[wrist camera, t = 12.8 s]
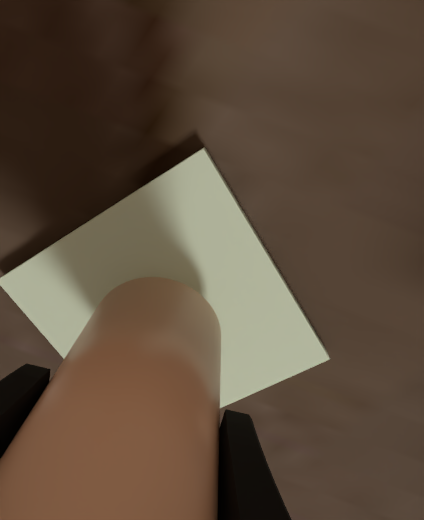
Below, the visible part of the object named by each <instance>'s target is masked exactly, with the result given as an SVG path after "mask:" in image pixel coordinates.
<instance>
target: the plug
mask: <svg viewBox="0 0 424 520" xmlns="http://www.w3.org/2000/svg"><path fill="white" fill-rule="evenodd" d="M220 376H221V327H220V324H219V320H218V318H217V315H216V313H215V311H214V310H213V308H212V306H211V305H210V304H209V303H208V302H207V300H206V299H205V298H204V297H203V296H202V295H201V294H199V293H198V292H197V291H195V290H194V289H192V288H191V287H189V286H187V285H185V284H183V283H180V282H178V281H175V280H171V279H167V278H161V277H144V278H138V279H133V280H130V281H127V282H125V283H123V284H121V285H119V286H117V287H116V288H114V289H113V290H111V291H110V292H109V293H108V294H107V295H106V296H105V297H104V298H103V299H102V301H101V302H100V304H99V305H98V307H97V308H96V310H95V311H94V313H93V315H92V316H91V318H90V319H89V321H88V322H87V324H86V326H85V327H84V329H83V330H82V332H81V333H80V335H79V337H78V338H77V340H76V341H75V343H74V344H73V346H72V348H71V349H70V351H69V352H68V354H67V355H66V357H65V359H64V360H63V362H62V363H61V365H60V366H59V368H58V370H57V371H56V373H55V374H54V376H53V377H52V379H51V380H50V382H49V384H48V385H47V387H46V388H45V390H44V391H43V393H42V395H41V396H40V398H39V399H38V401H37V402H36V404H35V406H34V407H33V409H32V410H31V412H30V413H29V415H28V417H27V418H26V420H25V421H24V423H23V424H22V426H21V428H20V429H19V431H18V432H17V434H16V435H15V437H14V439H13V440H12V442H11V443H10V445H9V446H8V448H7V450H6V451H5V453H4V454H3V456H2V457H1V459H0V520H218V472H219V424H220Z"/></svg>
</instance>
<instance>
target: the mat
mask: <svg viewBox="0 0 424 520" xmlns="http://www.w3.org/2000/svg"><path fill="white" fill-rule="evenodd" d="M144 277H161V278H167V279H171V280H175V281H178V282H180V283H183V284H185V285H187V286H189V287H191V288H192V289H194V290H195V291H197V292H198V293H199V294H201V295H202V296H203V297H204V298H205V299H206V300H207V302H208V303H209V304H210V305H211V306H212V308H213V310H214V311H215V313H216V315H217V318H218V320H219V324H220V327H221V376H220V408H222V407H224V406H226V405H228V404H231V403H233V402H235V401H237V400H240V399H242V398H244V397H246V396H249V395H251V394H253V393H255V392H258V391H260V390H262V389H264V388H267V387H269V386H271V385H273V384H275V383H278V382H280V381H282V380H284V379H287V378H289V377H291V376H293V375H296V374H298V373H300V372H302V371H305V370H307V369H309V368H311V367H314V366H316V365H318V364H320V363H323V362H325V361H327V360H329V359H330V358H329V355H328V352H327V350H326V349H325V347H324V345H323V344H322V342H321V340H320V339H319V337H318V335H317V334H316V332H315V330H314V329H313V327H312V325H311V324H310V322H309V320H308V319H307V317H306V315H305V314H304V312H303V310H302V309H301V307H300V305H299V304H298V302H297V300H296V299H295V297H294V295H293V294H292V292H291V290H290V289H289V287H288V285H287V284H286V282H285V280H284V279H283V277H282V275H281V274H280V272H279V270H278V269H277V267H276V265H275V264H274V262H273V260H272V259H271V257H270V255H269V254H268V252H267V250H266V249H265V247H264V245H263V244H262V242H261V240H260V239H259V237H258V235H257V234H256V232H255V230H254V228H253V227H252V225H251V223H250V222H249V220H248V218H247V217H246V215H245V213H244V212H243V210H242V208H241V207H240V205H239V203H238V202H237V200H236V198H235V197H234V195H233V193H232V192H231V190H230V188H229V187H228V185H227V183H226V182H225V180H224V178H223V177H222V175H221V173H220V172H219V170H218V168H217V167H216V165H215V163H214V162H213V160H212V158H211V157H210V155H209V153H208V152H207V150H206V148H205V147H204V148H202V149H201V150H199V151H197V152H196V153H194V154H193V155H191V156H190V157H188V158H187V159H185V160H183V161H182V162H180V163H179V164H177V165H176V166H174V167H172V168H171V169H169V170H168V171H166V172H165V173H163V174H162V175H160V176H158V177H157V178H155V179H154V180H152V181H151V182H149V183H147V184H146V185H144V186H143V187H141V188H140V189H138V190H136V191H135V192H133V193H132V194H130V195H129V196H127V197H126V198H124V199H122V200H121V201H119V202H118V203H116V204H115V205H113V206H111V207H110V208H108V209H107V210H105V211H104V212H102V213H101V214H99V215H97V216H96V217H94V218H93V219H91V220H90V221H88V222H86V223H85V224H83V225H82V226H80V227H79V228H77V229H76V230H74V231H72V232H71V233H69V234H68V235H66V236H65V237H63V238H61V239H60V240H58V241H57V242H55V243H54V244H52V245H51V246H49V247H47V248H46V249H44V250H43V251H41V252H40V253H38V254H36V255H35V256H33V257H32V258H30V259H29V260H27V261H25V262H24V263H22V264H21V265H19V266H18V267H16V268H15V269H13V270H11V271H10V272H8V273H7V274H5V275H4V276H2V277H1V278H0V285H1V286H2V288H3V289H4V290H5V291H6V292H7V293H8V295H9V296H10V297H11V298H12V299H13V300H14V302H15V303H16V304H17V305H18V306H19V307H20V308H21V310H22V311H23V312H24V313H25V314H26V315H27V317H28V318H29V319H30V320H31V321H32V322H33V323H34V325H35V326H36V327H37V328H38V329H39V330H40V332H41V333H42V334H43V335H44V336H45V337H46V339H47V340H48V341H49V342H50V343H51V344H52V345H53V347H54V348H55V349H56V350H57V351H58V352H59V354H60V355H61V356H62V357H63V358H64V359H65V357H66V355H67V354H68V352H69V351H70V349H71V348H72V346H73V344H74V343H75V341H76V340H77V338H78V337H79V335H80V333H81V332H82V330H83V329H84V327H85V326H86V324H87V322H88V321H89V319H90V318H91V316H92V315H93V313H94V311H95V310H96V308H97V307H98V305H99V304H100V302H101V301H102V299H103V298H104V297H105V296H106V295H107V294H108V293H109V292H110V291H111V290H113V289H114V288H116V287H117V286H119V285H121V284H123V283H125V282H127V281H130V280H133V279H138V278H144Z"/></svg>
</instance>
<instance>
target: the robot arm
mask: <svg viewBox="0 0 424 520" xmlns="http://www.w3.org/2000/svg"><path fill="white" fill-rule="evenodd" d="M49 378H50V369H47V368H43V367H39V366H34V365H30V364H25V365H23V366H21V367H20V368H18V369H17V370H15V371H14V372H12V373H11V374H9V375H8V376H6V377H5V378H3V379H2V380H0V459H1V457H2V456H3V454H4V453H5V451H6V450H7V448H8V446H9V445H10V443H11V442H12V440H13V439H14V437H15V435H16V434H17V432H18V431H19V429H20V428H21V426H22V424H23V423H24V421H25V420H26V418H27V417H28V415H29V413H30V412H31V410H32V409H33V407H34V406H35V404H36V402H37V401H38V399H39V398H40V396H41V395H42V393H43V391H44V390H45V388H46V387H47V385H48V384H49ZM218 520H291V518H290V516H289V513H288V511H287V509H286V507H285V505H284V502H283V500H282V498H281V495H280V493H279V491H278V488H277V486H276V484H275V481H274V479H273V477H272V474H271V472H270V469H269V467H268V464H267V461H266V459H265V456H264V453H263V451H262V448H261V445H260V443H259V440H258V437H257V434H256V431H255V428H254V425H253V421H252V419H251V417H250V416H249V415H248V414H244V413H239V412H235V411H231V410H225V413H224V416H223V419H222V422H221V425H220V428H219V472H218Z"/></svg>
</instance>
